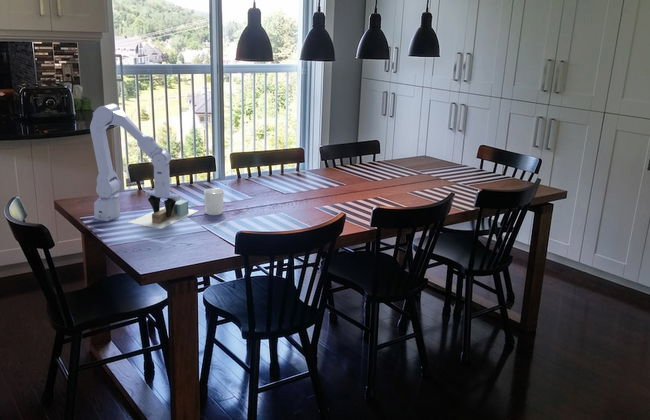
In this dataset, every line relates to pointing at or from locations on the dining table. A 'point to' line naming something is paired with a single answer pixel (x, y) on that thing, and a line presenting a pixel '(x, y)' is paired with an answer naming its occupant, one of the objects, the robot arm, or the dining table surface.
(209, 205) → the white cup
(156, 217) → the slat
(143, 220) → the board
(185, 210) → the teal block
